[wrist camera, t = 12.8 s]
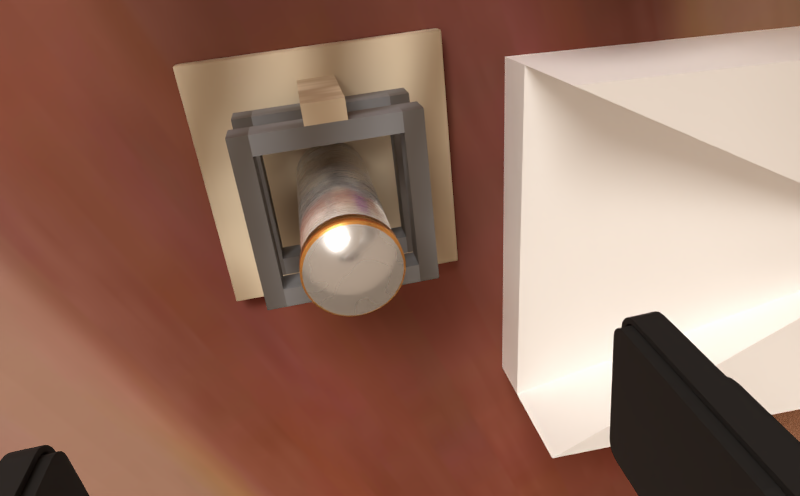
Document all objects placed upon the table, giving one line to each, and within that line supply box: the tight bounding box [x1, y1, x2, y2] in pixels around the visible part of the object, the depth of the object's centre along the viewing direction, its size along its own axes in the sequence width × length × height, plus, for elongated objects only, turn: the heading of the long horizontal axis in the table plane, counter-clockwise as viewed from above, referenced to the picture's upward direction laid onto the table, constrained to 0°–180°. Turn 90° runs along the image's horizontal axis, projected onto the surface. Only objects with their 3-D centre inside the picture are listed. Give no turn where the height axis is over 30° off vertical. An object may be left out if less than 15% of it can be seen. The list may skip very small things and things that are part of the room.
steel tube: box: [296, 143, 406, 316], centre depth 29 cm, size 4×4×12 cm
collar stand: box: [173, 28, 458, 310], centre depth 32 cm, size 14×14×7 cm
